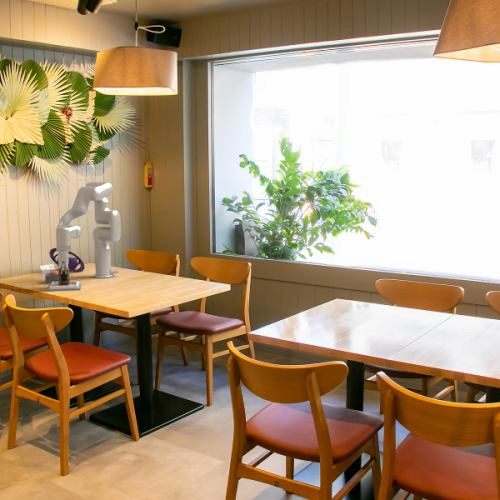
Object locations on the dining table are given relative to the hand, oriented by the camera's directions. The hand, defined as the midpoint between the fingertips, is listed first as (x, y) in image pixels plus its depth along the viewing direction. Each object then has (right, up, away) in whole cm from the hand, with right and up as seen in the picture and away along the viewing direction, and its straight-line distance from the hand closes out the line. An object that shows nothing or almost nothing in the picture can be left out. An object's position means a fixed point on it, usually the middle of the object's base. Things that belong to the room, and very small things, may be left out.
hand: (64, 279), depth 354 cm
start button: (-11, +1, +17) cm, 20 cm away
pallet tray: (0, -5, 0) cm, 5 cm away
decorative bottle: (-14, +2, +55) cm, 57 cm away
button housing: (-11, -3, +17) cm, 21 cm away
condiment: (0, -3, 0) cm, 3 cm away
